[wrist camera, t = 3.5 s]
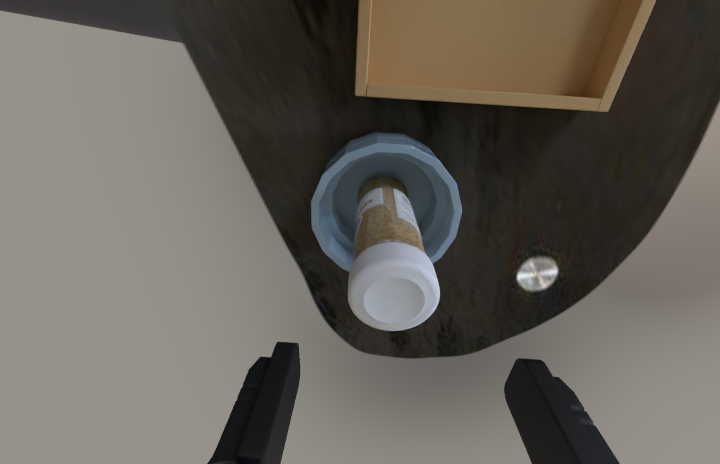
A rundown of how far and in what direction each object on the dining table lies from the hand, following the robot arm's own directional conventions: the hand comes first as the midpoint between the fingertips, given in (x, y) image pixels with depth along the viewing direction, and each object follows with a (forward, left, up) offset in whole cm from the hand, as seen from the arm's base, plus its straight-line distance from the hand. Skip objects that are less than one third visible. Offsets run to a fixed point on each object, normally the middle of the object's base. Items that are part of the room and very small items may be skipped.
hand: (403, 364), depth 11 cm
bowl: (0, 0, -18) cm, 18 cm away
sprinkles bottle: (0, 0, -17) cm, 17 cm away
